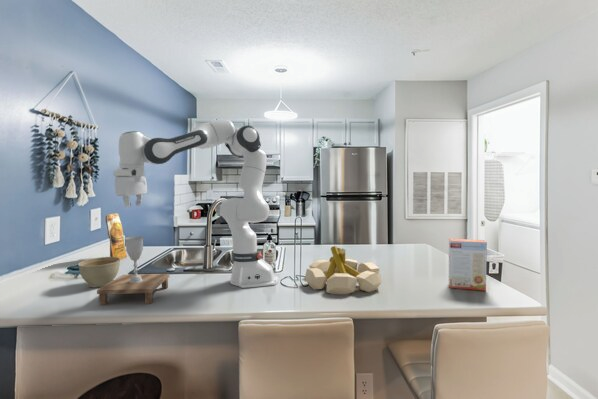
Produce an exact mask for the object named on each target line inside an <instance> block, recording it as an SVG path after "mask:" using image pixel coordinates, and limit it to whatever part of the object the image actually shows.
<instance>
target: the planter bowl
mask: <svg viewBox="0 0 598 399" xmlns="http://www.w3.org/2000/svg"><path fill="white" fill-rule="evenodd" d="M120 262H121V260H120V258H117V257H110V256H105V257H103V256H102V257H95V258H90V259H85V260H83V261H81V262H79V263H78V269H79V273H80V276H81V278H82V279H83V281H84V282H85V283H87V284H88V285H87V286H88V287H89V288H102V287H103V286H105V285H107V284H108V283H110V282H112V281H113V280H115V279H116V278H117V277H116V276H117V274H118V273H119V270H120V265H121V264H120Z"/></svg>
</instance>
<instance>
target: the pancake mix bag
mask: <svg viewBox="0 0 598 399" xmlns="http://www.w3.org/2000/svg"><path fill="white" fill-rule="evenodd" d="M105 224H106V228H107V236H108V238H109V239H108V240H109V257H117V258H120V261H121V260H123V259H125V258H127V257H128V254H127V251H126V243H125V238H124V237H125V236H124V230H123V225H122V221H121V218H120V214H119V212H114V213H109V214H107V215H106V216H105Z"/></svg>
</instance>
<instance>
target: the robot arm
mask: <svg viewBox="0 0 598 399" xmlns="http://www.w3.org/2000/svg"><path fill="white" fill-rule="evenodd" d="M261 143H262V142H261V140H260V133H259V131H258V129H256V127H254V126H252V125H243V126H241V127H239V129H237V128H236V127H235V125H234V123H233V122H232V121H231V120H230V119H227V118H223V119H222V118H221V119H220V118H219V119H216V120H209V121H208V122H204V123H201V124H199V125H197V126H196V127H194V128H193V129H192V130H191V131H189V132H187V133H184V134H181V135H178V136H174V137H171V138H170V137H169V138H164V137H153V138H149V137H147V136H145V135H144V134H143V133H142V132H140V131H126V132H124V133H121V135H120V136H119V139H118V156H119V159H120V160H119V165H118V166H119V167H118V168H116V169H115V170H113V173H112V175H113V177H114V189H115V191H114V192H115V194H116V196H117V197H122V201H123V203H124V208H131V207H132V202H131V201H130V199H131V198H130V196H135V197H136V200H135V206H142V201H143V197H144V196H143V195H146V194H147V193H148V183H147V178H146V177H145V163H147V164H150V165H163V164H165V163H167V162H169V161H170V160H171V159H172V158H173V157H174V156H175V155H178V154H180V153H183V152H186V151H188V150H191V149H196V148H197V149H198V148H199V149H202V150H203V149H209V148H214V147H216V146H219V145H222V144H224V146H225V148H227V149H228V151H229V152H230V153H231V155H232V156H234V157H236V158H241V157H243V165H242V166H241V167H242V168H241V171H240V174H239V175H240V176H239V180H238V184H239V187H240V189H242V190H243V193H244V194H243V197H231V198H227V199H224V200H223V201H222V202H221V203H220V206H219V213H220V216H221V217H222V218H223V219H224V220H225V221H226V223H227V225H228V227H229V229H230V233H231V239H232V240H231V241H232V252H231V264H232V268H231V269H232V270H231V276H230V280H229V283H230V284H231V285H233V286H237V287H239V288H241V289H246V288H256V287H257V288H258V287H259V288H260V287H268V286H276V285H277V284H278V283H279V276H278V275H277V274H275V272H274V269H273V266H272V265H271V264H269V263H268V262H267V261H265V260H264V259H262V257H263V254H262V251H259V250H258V240H257V238H258V237H257V234H256V232H255V231H254V230H253V229H252V228H251V227H250V225H249V223H253V224H256V223H260V222H264V221H265V222H266V220H267V219H268V217H269V216H270V211H271V210H270V206H269V204H268V202H267V201H266V200H265V198H264V195H263V185H264V180H265V175H266V170H267V160H268V157H267V154H266V152H265V151H264V150H262V149H260V148H261V146H262V144H261Z"/></svg>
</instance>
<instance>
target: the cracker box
mask: <svg viewBox="0 0 598 399" xmlns="http://www.w3.org/2000/svg"><path fill="white" fill-rule="evenodd" d="M487 242H488V241H486V240H483V239H465V238H464V239H463V238H462V239H461V238H448V286H449V288H450V289H458V290H459V289H460V290H471V291H473V290H474V291H480V292H481V291H482V292H483V291H485V292H486V291H487V254H488V253H487V252H488V251H487V245H488V243H487Z"/></svg>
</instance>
